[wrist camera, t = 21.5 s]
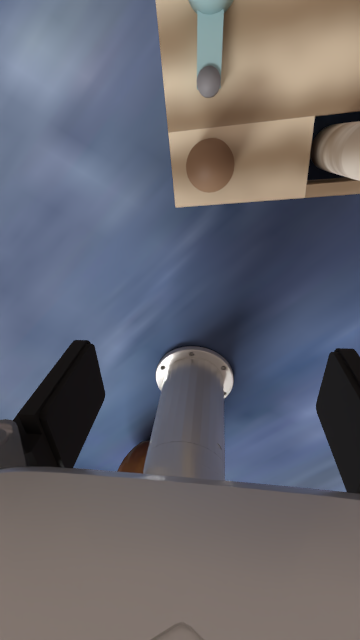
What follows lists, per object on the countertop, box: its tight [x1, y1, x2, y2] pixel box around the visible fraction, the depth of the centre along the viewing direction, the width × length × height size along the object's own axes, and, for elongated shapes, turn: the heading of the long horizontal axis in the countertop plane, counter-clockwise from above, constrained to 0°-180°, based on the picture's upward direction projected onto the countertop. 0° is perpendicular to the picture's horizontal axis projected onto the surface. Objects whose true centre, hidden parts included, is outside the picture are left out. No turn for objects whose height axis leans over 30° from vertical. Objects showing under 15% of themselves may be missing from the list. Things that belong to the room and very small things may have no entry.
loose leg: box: [310, 121, 360, 181], centre depth 25 cm, size 4×4×9 cm
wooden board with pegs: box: [156, 0, 360, 208], centre depth 24 cm, size 20×20×8 cm
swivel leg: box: [188, 0, 233, 98], centre depth 21 cm, size 9×4×5 cm, turn 1°
